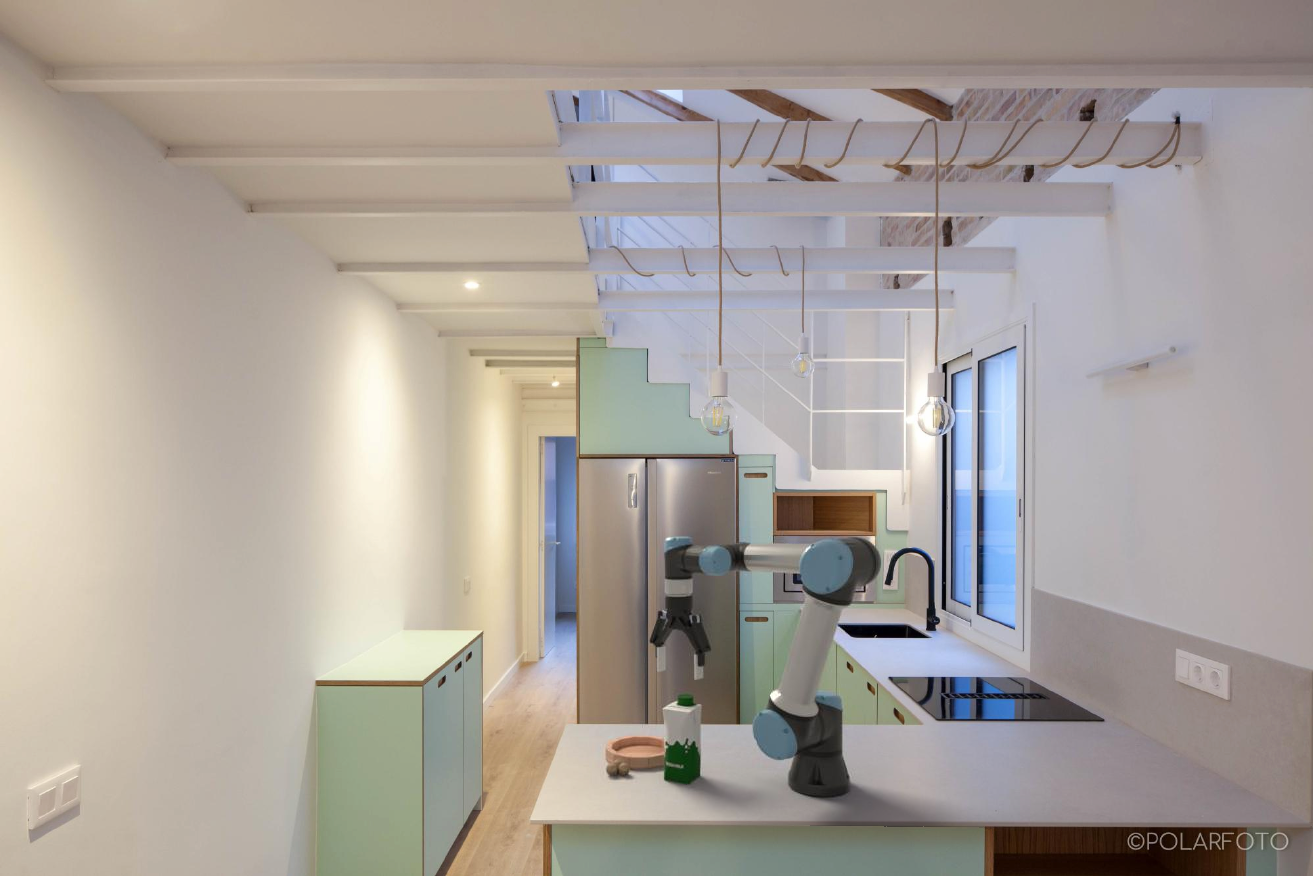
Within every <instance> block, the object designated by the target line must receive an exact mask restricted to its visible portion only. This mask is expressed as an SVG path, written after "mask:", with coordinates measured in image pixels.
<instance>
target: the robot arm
mask: <svg viewBox="0 0 1313 876" xmlns="http://www.w3.org/2000/svg"><path fill="white" fill-rule="evenodd" d="M663 556H664V593H665V594H666V595H665V596H664V609H663V610H658V611H657V617H656V618H657V619H656V621H655V624H654V627H653V630H652V632H651V635H650V638H649V643H650V644H652V645H654V647H655V658H656V671H657V673H661V672H665V671H666V670H667V649H666V646H665V645H666V644H665V643H666V641H667V639H668V638H669V636H670V635H671V634H672V632H673V631H674V630H678V631H681V632H683V633H684V634H685V635H686V637H687V638H688V640H689V642H690V645H691V646H692V647H693V649H694V651H695V653H694V654H693V664H694V665H693V666H694V667H693V669H694V670H693V671H694V672H693V674H694V675H693V677H694V678H693V679H694V680H695V681H696V680H702V679H704V667H705V665H706V656H705V655H706V653H709V652H712V647H711V644H710V642H709V639H708V637H707V632H706V631H705V628H704V624H703V620H702V615H701V614H695V615H694V614H692V610H693V608H694V596H693V595H692V593H693V590H694V589H693V588H694V587H693V584H694V583H693V575H694V574H696V575H703V576H710V577H715V576H716V577H718V576H719V577H721V576H724V575H725V574H726V573H730V572H731V573H732V572H758V573H759V572H762V573H778V574H799V575H800V576H801V577H800V580H801V582H802V585H801V591H802V592H803V594H804V596H805V599H804V602H803V606H802V609H801V611H800V612H801V613H800V616H799V619H798V622H797V623H798V624H797V626H796V630H795V633H794V637H793V639H792V643H791V647H790V650H789V652H788V656H787V661H786V664H785V667H784V670H783V674H782V677H781V681H780V683H779V687H777V688H776V689H773V690H772V691H771V692H770V695H769V698H768V701H767V704H766V708H765V709H763V710H761V711H760V710H759V712H758V713H757V714H756V715H755V717H754V718H753V721H752V735H753V738H754V740H755V741H756V745H757V747H758V748H759V750H760V751H761V752H762V753H763V754H764V755H765V756H767V758H770V759H771V760H775V761H782V760H783V761H784V760H788V759H792V761H791V766H790V770H788V772H787V773H788V774H787V785H788V786H789V787H790V788H791V790H793V791H795V792H798V793H799V794H803V795H806V796H807V795H808V796H813V797H822V798H823V797H825V798H827V797H836V796H841V795H844V794H847V793H848V792H849V791H850V790H851V777H850V775H849V772H848V769H847V768H848V767H847V765H846V761H845V759H844V756H843V755H844V754H843V712H844V710H843V704H842V698H841V696H840V695H839V694H837V693H835V692H832V691H828V690H822V689H819V687H820V683H821V681H822V677H823V673H824V672H825V666H826V663H827V660H828V657H829V654H830V650H831V647H832V645H833V644H832V643H833V641H834V638H835V634H836V631H837V628H838V624H839V622H840V618H841V615H842V612H843V610H844V609H846V608H848V607H850V606H851V605H852V602H853V599H854V596H855V593H856V590H857V588H860V587H861V588H862V587H865V586H868V585H869V584H871V583H873V581H874V580H876V579H877V577H878V575H879V574H880V571H881V568H882V557H881V554H880V551H879V550H878V548H877V547H876V546H875V545H874V543H872V542H871V541H870V540H869V539H866V538H864V537H858V536H851V537H843V538H841V537H840V538H825V539H822V540H819V541H816V542H813V543H772V542H771V543H765V542H764V543H762V542H761V543H759V542H754V543H751V542H747V541H746V542H745V541H741V542H734V543H724V544H712V545H710V544H709V545H700V544H698V545H694V544H693V538H692V537H690V536H669V537H667V538H665V540H664V551H663Z"/></svg>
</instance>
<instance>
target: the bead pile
mask: <svg viewBox="0 0 1313 876" xmlns="http://www.w3.org/2000/svg"><path fill="white" fill-rule="evenodd" d="M605 770H606V774H607V775H609V776H612V777H613V776H615V775H617V773H619V774H620V775H621V776H627V775H628V774H629V773H630V770H631V769H630V767H629V765H628V764H627V763H622V761H621V760H615V761H613V763H608V764H607V766H606V768H605Z"/></svg>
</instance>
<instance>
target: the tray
mask: <svg viewBox="0 0 1313 876" xmlns="http://www.w3.org/2000/svg"><path fill="white" fill-rule="evenodd" d="M604 756H605V761H606V762H607V763H608V764H610V763H613V761H615V760H621V761H622V763H627V764H628V765H629V767H630V770H651V769H653V770H654V769H657V768H663V767H664V737H660V736H656V735H655V736H654V735H645V734H644V735H641V734H640V735H628V736H621V737H617V738H614V739H611V740H610V741H608V742H607V743H606V746H605V755H604Z"/></svg>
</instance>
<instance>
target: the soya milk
mask: <svg viewBox="0 0 1313 876" xmlns="http://www.w3.org/2000/svg"><path fill="white" fill-rule="evenodd" d="M702 706H703V705H702V704H699V703H694V696H693V695H692V694H685V693H684V694H679V695H678V696H677V700H676V701H673V702H672V703H669V704H667V705H665V707H663V708H662V714H663V722H664V724H663V725H664V729H663V731H664V733H663V734H664V735H663V736H664V737H663V738H664V766H663V780H664V781H668V782H673V783H679V784H683V785H690V784H691V783H693V782H695V780H697V779H698V778H699V777H700V776H701V768H702V767H701V761H702V759H701V757H702V752H701V751H702V750H701V747H702V746H701V745H702V744H701V743H702V741H701V738H702V737H701V736H702V734H701V733H702V732H701V729H702V728H701V727H702V725H701V724H702V723H701V722H702V720H701V719H702V708H703V707H702Z"/></svg>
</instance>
